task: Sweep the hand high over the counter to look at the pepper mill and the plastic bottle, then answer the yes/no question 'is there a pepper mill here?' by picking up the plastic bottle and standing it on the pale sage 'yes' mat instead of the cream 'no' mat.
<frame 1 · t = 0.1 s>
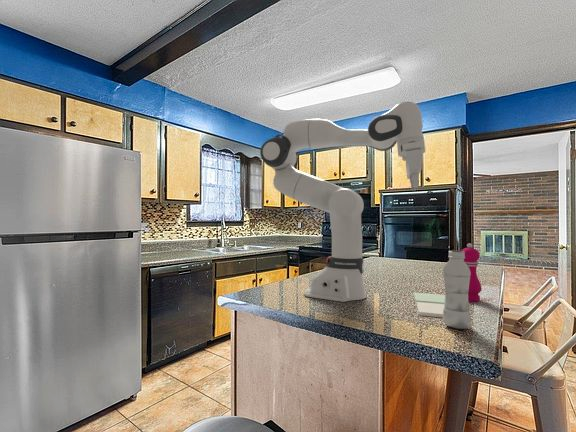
hand: (415, 188, 108), 39 cm above the worktop, tool pointing down, fingers open, 8 cm apart
plastic bottle: (456, 328, 82), on the worktop
pepper mill: (469, 300, 111), on the worktop
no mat: (440, 311, 96), on the worktop
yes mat: (434, 300, 109), on the worktop
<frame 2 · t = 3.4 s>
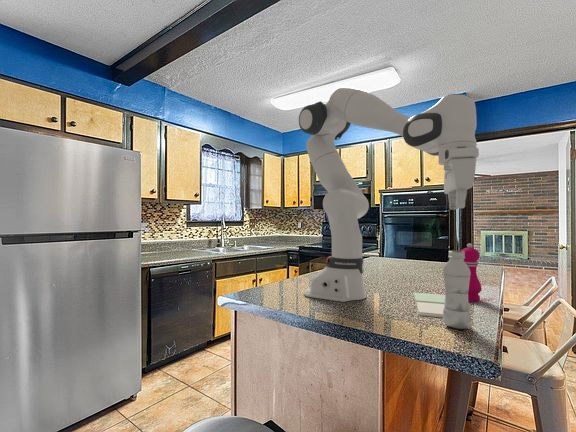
hand: (456, 208, 83), 31 cm above the worktop, tool pointing down, fingers open, 8 cm apart
nothing on the worktop moved.
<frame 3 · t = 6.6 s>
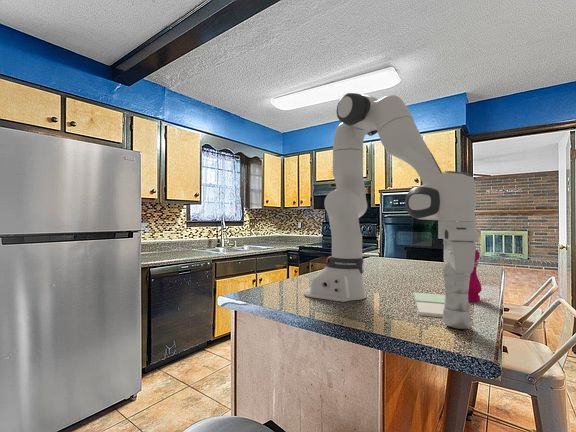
hand: (456, 285, 82), 11 cm above the worktop, tool pointing down, fingers closed on plastic bottle, 6 cm apart
plastic bottle: (456, 328, 82), on the worktop, touching gripper
everything else where it was.
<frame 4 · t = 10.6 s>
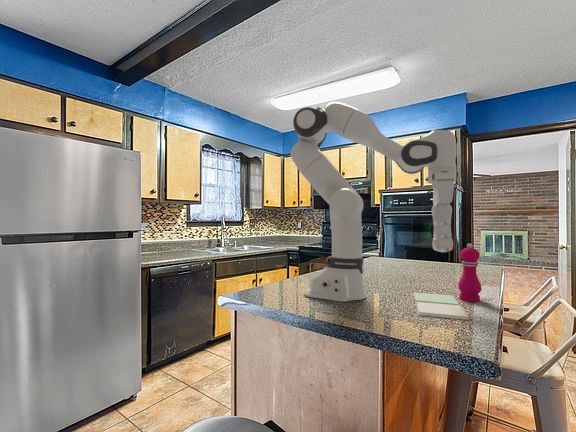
hand: (441, 217, 108), 29 cm above the worktop, tool pointing down, fingers closed on plastic bottle, 6 cm apart
plastic bottle: (442, 252, 108), point 17 cm above the worktop, touching gripper
everything else where it was.
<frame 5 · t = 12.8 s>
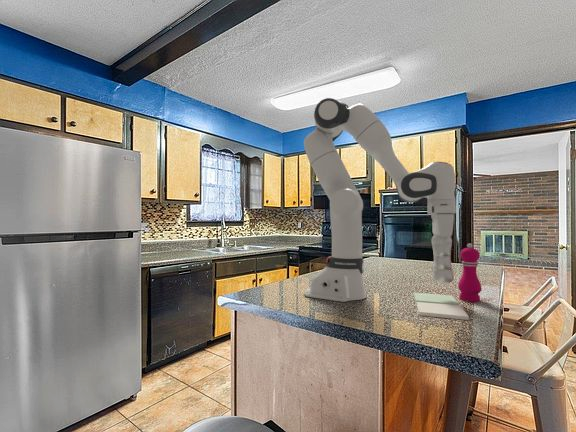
hand: (441, 248, 109), 18 cm above the worktop, tool pointing down, fingers closed on plastic bottle, 6 cm apart
plastic bottle: (442, 283, 109), point 6 cm above the worktop, touching gripper
everything else where it was.
when the fingers open (13 cm above the worktop, at t = 14.8 s): plastic bottle stays where it is, resting on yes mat.
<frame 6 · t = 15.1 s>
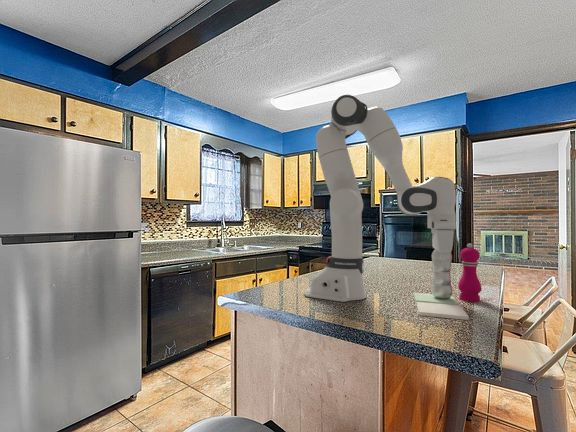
hand: (441, 263, 109), 13 cm above the worktop, tool pointing down, fingers open, 8 cm apart
plastic bottle: (441, 298, 109), point 1 cm above the worktop, touching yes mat
everything else where it was.
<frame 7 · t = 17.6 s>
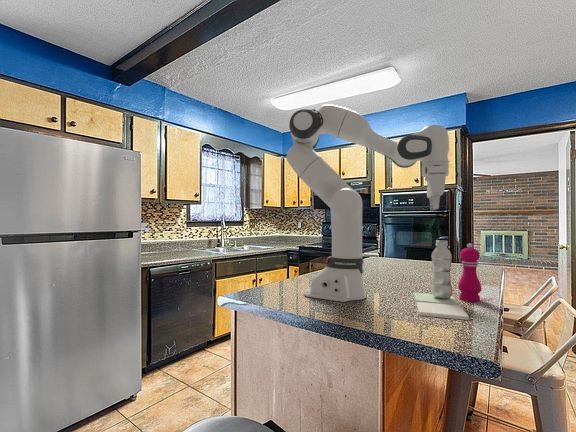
hand: (434, 209, 113), 32 cm above the worktop, tool pointing down, fingers open, 8 cm apart
nothing on the worktop moved.
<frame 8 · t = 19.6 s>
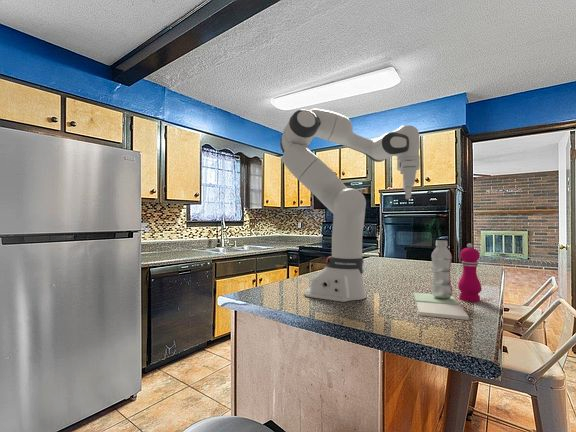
hand: (408, 198, 131), 37 cm above the worktop, tool pointing down, fingers open, 8 cm apart
nothing on the worktop moved.
at the end: plastic bottle inside the target area on the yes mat (1.8 cm from its centre), point 0.8 cm above the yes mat's base; plastic bottle tilted 0°; plastic bottle touching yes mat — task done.
